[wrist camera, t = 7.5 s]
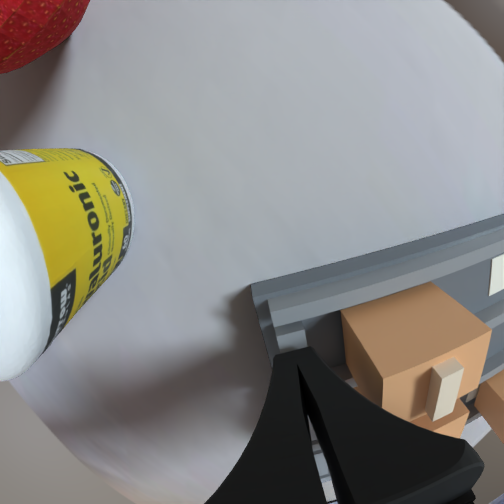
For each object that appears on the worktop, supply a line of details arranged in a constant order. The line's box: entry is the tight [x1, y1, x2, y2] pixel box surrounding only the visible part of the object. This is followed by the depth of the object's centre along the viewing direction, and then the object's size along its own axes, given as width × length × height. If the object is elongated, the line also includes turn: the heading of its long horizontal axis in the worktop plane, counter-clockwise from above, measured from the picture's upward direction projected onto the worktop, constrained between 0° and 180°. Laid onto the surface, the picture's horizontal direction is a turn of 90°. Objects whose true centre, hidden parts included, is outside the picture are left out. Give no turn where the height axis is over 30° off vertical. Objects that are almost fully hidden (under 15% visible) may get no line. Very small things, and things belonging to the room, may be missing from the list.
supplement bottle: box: [0, 148, 135, 381], centre depth 6 cm, size 5×5×10 cm
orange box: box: [340, 281, 492, 422], centre depth 9 cm, size 3×4×5 cm, turn 104°
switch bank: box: [251, 214, 504, 483], centre depth 13 cm, size 13×18×2 cm
